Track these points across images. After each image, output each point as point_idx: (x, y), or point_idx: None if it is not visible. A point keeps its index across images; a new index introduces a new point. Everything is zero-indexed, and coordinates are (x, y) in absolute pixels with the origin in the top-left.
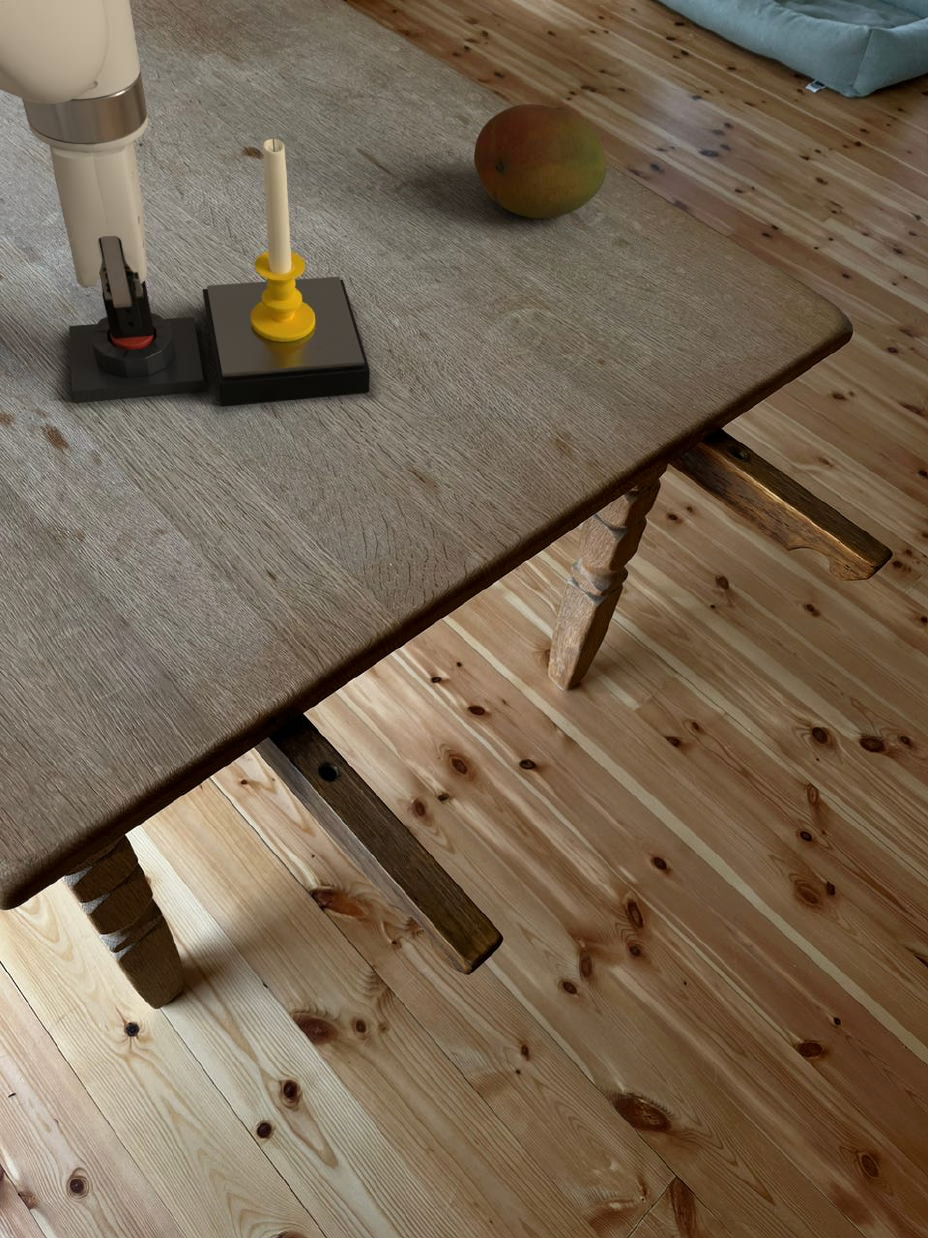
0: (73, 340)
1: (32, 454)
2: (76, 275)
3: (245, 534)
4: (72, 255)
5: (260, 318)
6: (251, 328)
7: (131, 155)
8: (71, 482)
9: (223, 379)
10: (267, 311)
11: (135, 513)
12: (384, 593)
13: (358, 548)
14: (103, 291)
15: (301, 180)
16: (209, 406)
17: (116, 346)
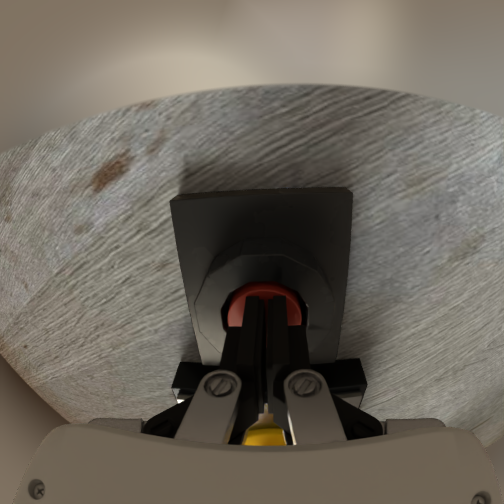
0: (309, 199)
1: (83, 147)
2: (39, 449)
3: (44, 342)
4: (16, 499)
5: (268, 440)
6: (262, 427)
7: None
8: (51, 202)
9: (178, 392)
10: (280, 444)
11: (33, 267)
12: (41, 390)
13: (61, 393)
14: (272, 356)
15: (490, 396)
16: (180, 351)
17: (240, 290)
